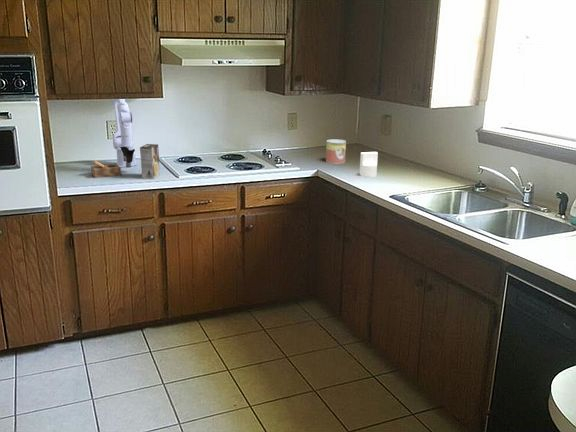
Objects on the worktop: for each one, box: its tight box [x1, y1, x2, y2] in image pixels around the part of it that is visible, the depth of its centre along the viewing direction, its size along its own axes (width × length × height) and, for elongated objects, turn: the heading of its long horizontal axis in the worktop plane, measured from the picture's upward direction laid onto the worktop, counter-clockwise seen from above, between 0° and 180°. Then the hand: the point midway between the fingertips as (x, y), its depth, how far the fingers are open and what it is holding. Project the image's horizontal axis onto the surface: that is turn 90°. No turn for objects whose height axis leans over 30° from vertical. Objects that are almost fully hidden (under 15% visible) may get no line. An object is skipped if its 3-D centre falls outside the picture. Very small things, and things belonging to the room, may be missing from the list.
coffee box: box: [139, 143, 161, 180], centre depth 301 cm, size 9×6×16 cm
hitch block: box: [90, 163, 122, 179], centre depth 306 cm, size 13×10×4 cm
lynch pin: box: [123, 156, 133, 168], centre depth 311 cm, size 5×5×6 cm
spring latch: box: [93, 159, 105, 167], centre depth 303 cm, size 5×4×1 cm
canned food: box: [325, 138, 347, 165], centre depth 343 cm, size 11×11×12 cm
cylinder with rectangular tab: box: [359, 151, 379, 178], centre depth 313 cm, size 9×9×12 cm
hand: (128, 161), depth 311 cm, fingers closed on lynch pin, 5 cm apart
